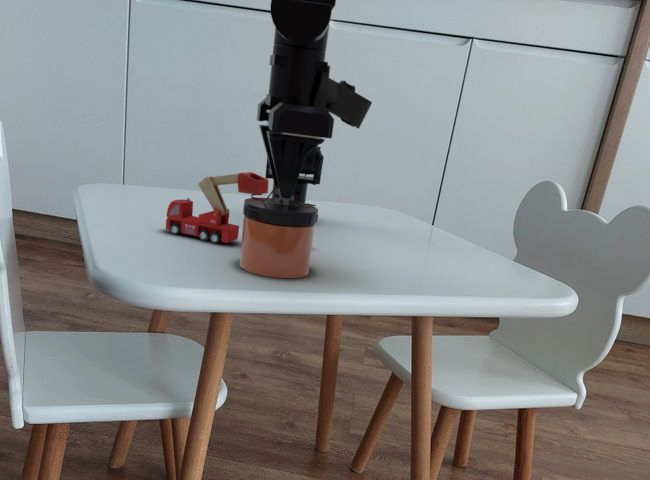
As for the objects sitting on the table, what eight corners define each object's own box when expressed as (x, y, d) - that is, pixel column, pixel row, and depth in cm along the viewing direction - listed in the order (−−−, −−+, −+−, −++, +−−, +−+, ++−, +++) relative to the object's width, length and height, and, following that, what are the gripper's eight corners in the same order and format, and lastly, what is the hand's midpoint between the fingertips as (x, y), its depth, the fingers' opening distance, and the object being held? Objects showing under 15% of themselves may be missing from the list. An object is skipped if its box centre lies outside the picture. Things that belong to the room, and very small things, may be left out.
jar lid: (240, 207, 84) (242, 194, 83) (310, 214, 85) (311, 202, 85) (245, 221, 76) (247, 207, 75) (322, 228, 77) (324, 215, 77)
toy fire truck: (174, 228, 96) (179, 158, 93) (262, 248, 92) (270, 175, 89) (161, 231, 93) (165, 159, 90) (251, 251, 89) (259, 176, 86)
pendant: (245, 200, 79) (247, 177, 78) (251, 195, 84) (254, 173, 83) (313, 210, 79) (316, 187, 78) (316, 205, 83) (319, 182, 82)
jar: (237, 256, 86) (242, 199, 83) (302, 262, 87) (310, 206, 85) (241, 274, 78) (248, 212, 76) (313, 281, 80) (322, 219, 77)
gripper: (394, 57, 67) (368, 216, 73) (353, 60, 84) (334, 188, 90) (281, 40, 65) (264, 205, 70) (263, 47, 82) (250, 179, 87)
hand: (282, 193), depth 80 cm, fingers open, 5 cm apart
